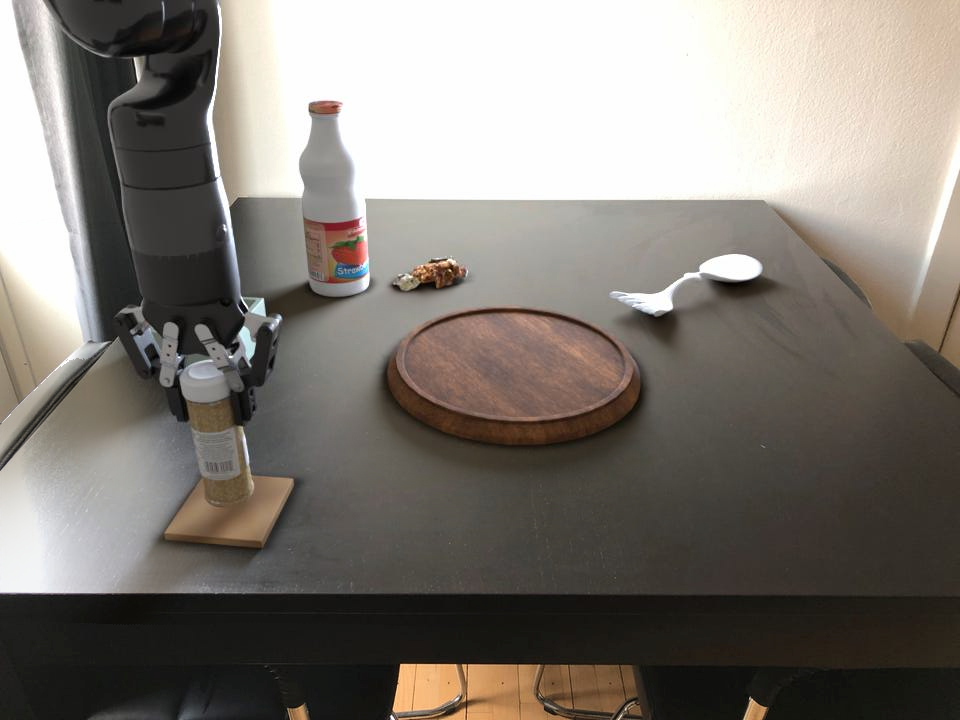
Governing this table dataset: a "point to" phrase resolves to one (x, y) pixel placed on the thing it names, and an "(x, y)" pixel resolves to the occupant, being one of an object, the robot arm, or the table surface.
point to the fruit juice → (333, 206)
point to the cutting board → (514, 375)
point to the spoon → (716, 268)
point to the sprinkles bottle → (216, 435)
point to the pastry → (432, 274)
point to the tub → (255, 307)
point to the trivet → (232, 516)
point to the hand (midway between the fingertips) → (215, 418)
